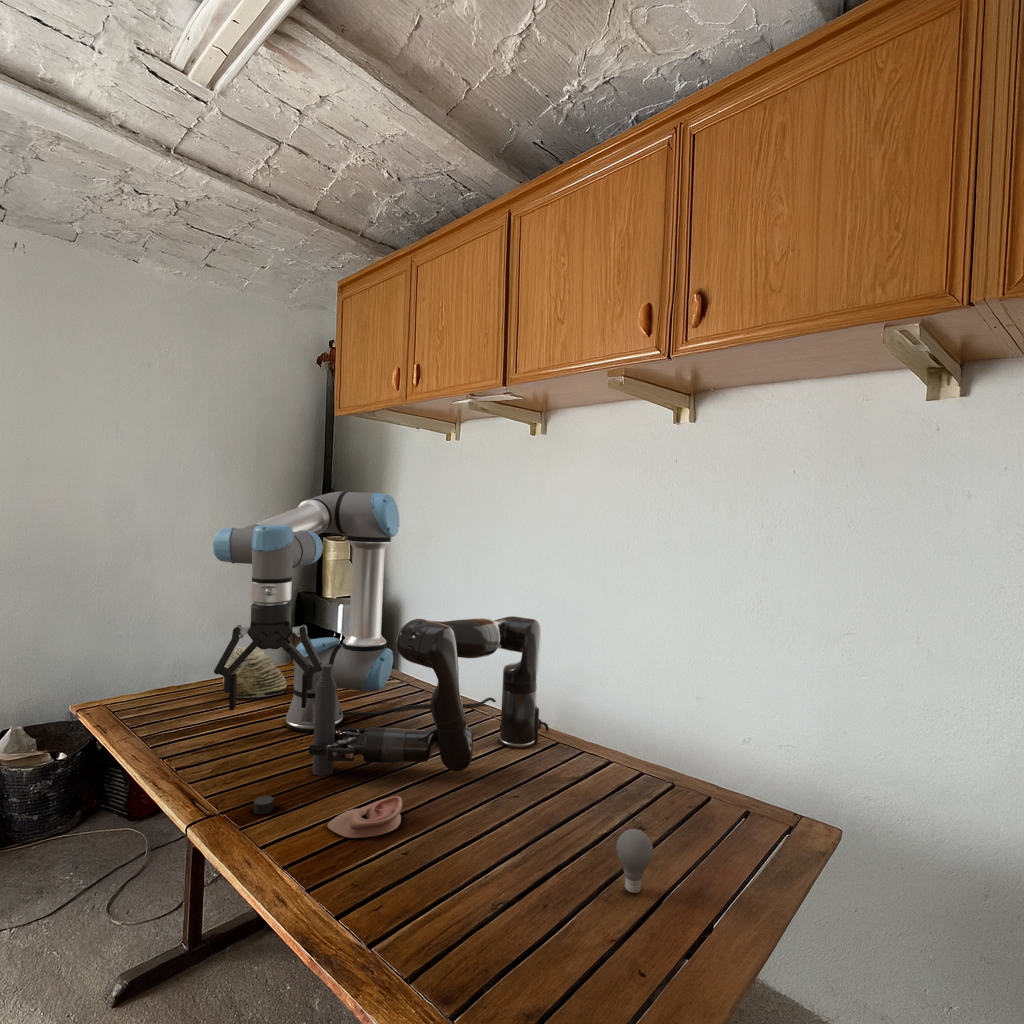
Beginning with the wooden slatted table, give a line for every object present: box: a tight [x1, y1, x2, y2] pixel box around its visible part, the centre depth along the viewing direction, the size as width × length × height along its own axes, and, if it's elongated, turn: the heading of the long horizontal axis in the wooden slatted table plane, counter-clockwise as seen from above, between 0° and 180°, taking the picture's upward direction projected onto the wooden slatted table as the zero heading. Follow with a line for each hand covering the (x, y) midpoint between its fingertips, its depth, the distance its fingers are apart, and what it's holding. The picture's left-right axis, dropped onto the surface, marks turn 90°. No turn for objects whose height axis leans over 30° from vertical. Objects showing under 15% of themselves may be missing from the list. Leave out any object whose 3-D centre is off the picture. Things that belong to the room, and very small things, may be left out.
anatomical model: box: [327, 795, 403, 839], centre depth 123 cm, size 13×4×12 cm
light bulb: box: [615, 828, 654, 894], centre depth 106 cm, size 6×6×10 cm
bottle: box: [312, 664, 338, 777], centre depth 146 cm, size 5×5×25 cm
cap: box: [253, 795, 275, 815], centre depth 127 cm, size 4×4×2 cm
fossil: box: [222, 646, 288, 699], centre depth 198 cm, size 9×18×15 cm, turn 132°
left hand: (268, 707), depth 127 cm, fingers open, 13 cm apart
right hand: (314, 742), depth 146 cm, fingers open, 7 cm apart
